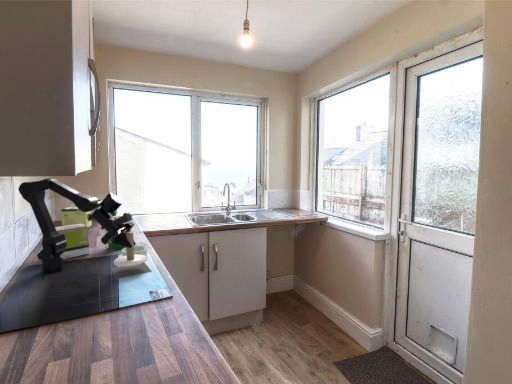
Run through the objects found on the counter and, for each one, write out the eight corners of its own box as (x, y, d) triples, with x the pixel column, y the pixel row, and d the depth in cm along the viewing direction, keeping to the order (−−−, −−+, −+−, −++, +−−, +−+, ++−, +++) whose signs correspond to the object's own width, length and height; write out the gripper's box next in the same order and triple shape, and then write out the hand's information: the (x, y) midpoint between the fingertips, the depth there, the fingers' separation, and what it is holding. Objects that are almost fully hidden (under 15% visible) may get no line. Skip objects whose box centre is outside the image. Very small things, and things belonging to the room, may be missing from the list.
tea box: (84, 250, 153) (82, 222, 152) (89, 254, 146) (88, 225, 144) (50, 256, 143) (48, 227, 141) (54, 261, 135) (52, 230, 134)
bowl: (124, 263, 132) (124, 253, 132) (120, 257, 141) (120, 248, 141) (149, 258, 138) (149, 249, 138) (144, 253, 148) (143, 244, 147)
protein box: (87, 230, 198) (86, 208, 196) (62, 231, 194) (60, 209, 193) (92, 227, 208) (91, 206, 206) (68, 228, 204) (66, 206, 203)
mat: (115, 280, 113) (115, 279, 113) (110, 269, 125) (110, 268, 125) (152, 272, 121) (152, 271, 121) (144, 263, 133) (144, 262, 133)
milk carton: (106, 247, 157) (104, 211, 155) (122, 244, 164) (121, 209, 162) (112, 251, 151) (110, 213, 149) (129, 247, 158) (127, 211, 156)
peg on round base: (116, 268, 114) (115, 238, 112) (111, 259, 124) (110, 231, 123) (150, 262, 121) (149, 233, 120) (143, 254, 132) (142, 227, 130)
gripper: (107, 210, 111) (136, 239, 112) (129, 204, 130) (154, 228, 131) (88, 230, 112) (117, 258, 113) (113, 221, 131) (137, 244, 132)
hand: (133, 246), depth 122 cm, fingers closed on peg on round base, 3 cm apart
